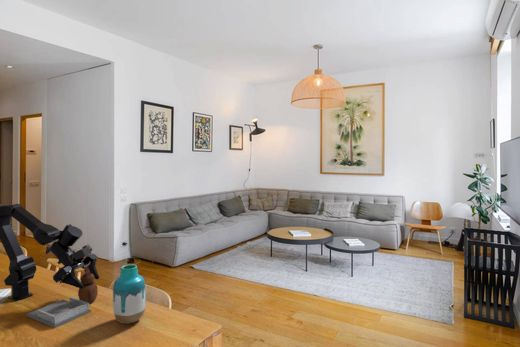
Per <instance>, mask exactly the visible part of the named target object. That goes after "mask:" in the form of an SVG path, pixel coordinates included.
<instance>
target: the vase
mask: <svg viewBox="0 0 520 347" xmlns="http://www.w3.org/2000/svg"><path fill="white" fill-rule="evenodd" d="M119 271H120V274H119V277H117V278H116V279H115V280H114V282H113V286H112V307H113V314H114V317H115V320H117V322H119V323H121V324H131V323H135V322H137V321H139V320H140V319H141V318H142V317H143V316H144V314H145V312H146V306H147V305H146V304H147V301H146V299H147V295H146V294H147V293H146V282H145V279H144V277H143V275H140V274H139V273H138V271H139V270H138V266H137V264H133V263H132V264H125V265H121V267H120V270H119Z"/></svg>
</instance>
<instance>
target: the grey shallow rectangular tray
mask: <svg viewBox="0 0 520 347" xmlns="http://www.w3.org/2000/svg"><path fill="white" fill-rule="evenodd" d="M91 312H92V310H91V308H90V304H89V303H88V302H85V301H82V300H79V298H77V297H73V296H71V297H70V296H69V300H66V299H61V300H59V301H55V302H52V303H51V304H48V305H45V306H43V307H40V308H38V309H35V310H33V311H30V312H27V313H26V317H29V318H30V319H31V320H32V319H33V320H35V321H38V322H39V323H42V324H45V325H46V326H49V327H51V328H53V329H56V328H58V327H61V326H63V325H64V324H67V323H69V322H71V321H74V320H76V319H78V318H80V317H83V316H85V315H88V314H90V313H91Z"/></svg>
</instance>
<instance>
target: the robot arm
mask: <svg viewBox="0 0 520 347" xmlns="http://www.w3.org/2000/svg"><path fill="white" fill-rule="evenodd" d="M12 218H13V219H15V220H16V221H17V222H18V223H20V224H21V225H22V226H23V227H25V228H26V229H27V230H28V231H30V232H31V234H32V237H33V239H34V240H35V241H36V242H37V243H38V244H39V245H40V246H46V245H48V246H46V250H45V254H46V255H49V254H51V253H52V254H53V256H54V257H55V258H56V259H57V260H58V261H57V264H58V265H61V264H62V267H60V268H59V269H58V270H57V271H56V272H55V274H53V276H52V280H53V281H54V282H55V283H56V284H58V283H59V284H65V285H69V286H72V287H75V288H78V289H79V288H80V289H82V288H83V287H84V286H83V285H82V283H81V280H79V278H78V277H77V276H76V271H77V270H79V269H80V268H81V269H83V272H85V266H86V268H87V267H88V269H89V271H90V273H92V274H93V275H94V278H95V279H94V280H99V279H100V275H99V273H98V270H97V267H96V263H97V261H98V258H99V257H98V256H97V255H96V254H95V253H92V251H93V247H91V246H90V244H85V245H83V246H82V248H81V249H79V250H77V249H72V248H71V247H73V246H74V245H75V244H76V243H77V242H78V241H79V239H80V238H81V237H82V236H83V231H82V230H81V229H80V228H79V227H77V226H74V225H72V224H71V223H70V224H66V225H65V226H64V228H63V229H62V230H60V229H59V228H57V227H56V226H54V225H51V224H48V223H44V222H42V221H41V220H40V219H38V218H37V217H36V216H34V215H33V214H32V213H30V211H28V210H27V209H26V208H24V207H23V205H22V204H20V203H11V204H8V205H5V204H0V243H1V244H2V246H3V248H4V250H5V253H6V255H7V257H8V259H9V265H8V272H9V274H8V275H7V277H6V278H5V279H4V280H3V282H4V285H5V286H6V287H7V286H8V287H10V288H11V289H10V290H11V295H8V296H7V299H9V300H12V301H15V302H17V301H20V300H23V299H25V298H29V297H31V296H33V295H34V293H33V292H30V288H29V283H30V282H29V280H32V279H34V277H35V274H36V271H38V270H37V263H36V262H35V260H34V257H32V256H27V255H25V253H24V251H23V249H22V246H21V245H20V242H19V240H18V238H17V236H16V234H15V232H14V230H13V229H14V228H12V227H13V226H12V225H11V221H12V220H11V219H12ZM51 243H52V244H51ZM49 244H51V245H49Z"/></svg>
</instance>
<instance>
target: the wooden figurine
mask: <svg viewBox="0 0 520 347" xmlns="http://www.w3.org/2000/svg"><path fill="white" fill-rule="evenodd" d="M84 270H85V271H84V274H82V276H81V277H80V282H81V283H82V285H83V286H84V287H83V288H82V289H80V288H78V291H77V294H78V299H79V300H82V301H85V302H88V303H89V305H90V304H92V303H94V302H95V300H96V299H97V297H98V293H99V290H98V286H97V283H96V282H95V280H96V279H95V278H94V275H93V274H92V273H90V271H89V269H88V267H87V268H86V266H85V269H84Z"/></svg>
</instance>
